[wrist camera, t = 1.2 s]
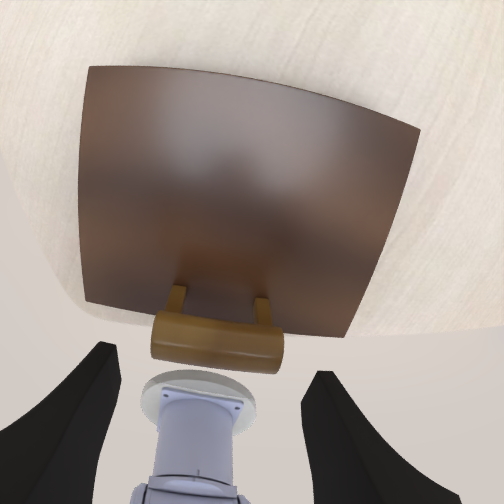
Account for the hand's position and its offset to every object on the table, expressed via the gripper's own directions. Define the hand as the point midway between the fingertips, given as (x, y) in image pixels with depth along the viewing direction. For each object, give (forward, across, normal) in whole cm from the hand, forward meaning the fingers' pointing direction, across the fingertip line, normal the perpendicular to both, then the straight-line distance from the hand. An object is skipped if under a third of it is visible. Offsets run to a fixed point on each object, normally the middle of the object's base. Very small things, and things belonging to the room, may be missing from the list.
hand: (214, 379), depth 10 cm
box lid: (+6, 0, -4) cm, 7 cm away
